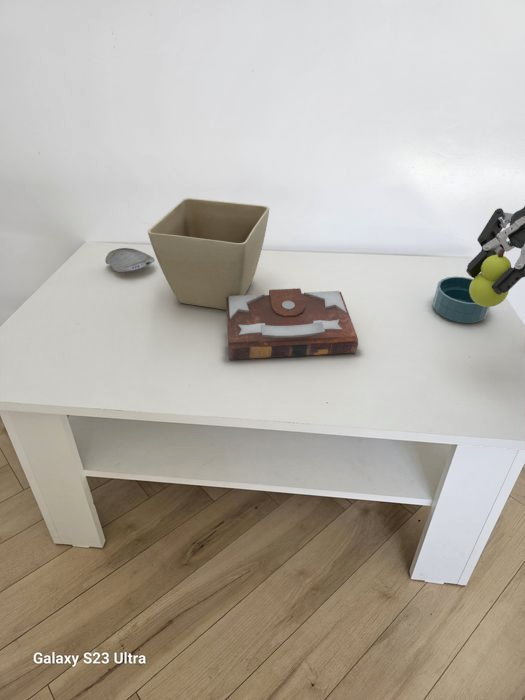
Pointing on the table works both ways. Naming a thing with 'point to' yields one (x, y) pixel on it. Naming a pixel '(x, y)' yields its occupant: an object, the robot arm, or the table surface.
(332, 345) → the book
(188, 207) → the flower pot
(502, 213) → the robot arm
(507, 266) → the pear
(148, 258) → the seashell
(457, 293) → the bowl
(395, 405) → the table surface
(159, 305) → the table surface
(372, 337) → the table surface
